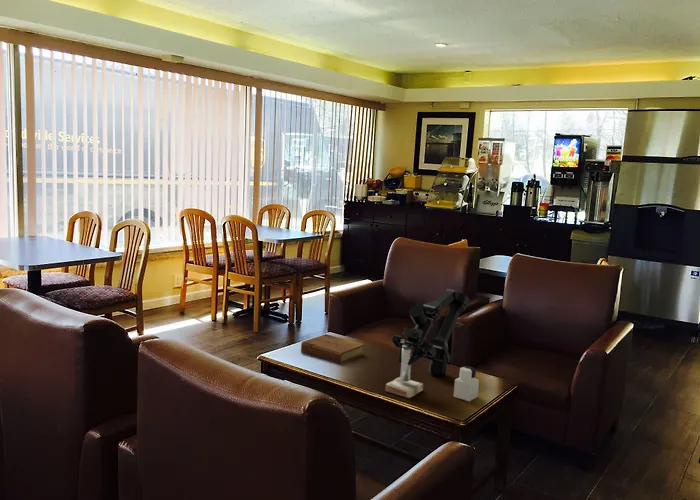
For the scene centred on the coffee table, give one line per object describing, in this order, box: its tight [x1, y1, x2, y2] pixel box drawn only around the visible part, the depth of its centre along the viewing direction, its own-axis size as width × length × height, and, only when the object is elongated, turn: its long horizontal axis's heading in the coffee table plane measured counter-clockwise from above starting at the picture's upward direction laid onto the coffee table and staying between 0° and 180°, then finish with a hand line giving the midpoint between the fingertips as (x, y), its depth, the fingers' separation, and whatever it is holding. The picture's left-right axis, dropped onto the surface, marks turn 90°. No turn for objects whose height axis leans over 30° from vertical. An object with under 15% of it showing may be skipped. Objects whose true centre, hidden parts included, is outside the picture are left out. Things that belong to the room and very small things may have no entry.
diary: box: [300, 333, 365, 365], centre depth 270 cm, size 23×19×6 cm
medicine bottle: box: [453, 365, 480, 402], centre depth 226 cm, size 7×7×12 cm
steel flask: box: [399, 344, 414, 382], centre depth 228 cm, size 4×4×14 cm
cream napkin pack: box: [384, 376, 424, 399], centre depth 229 cm, size 11×11×3 cm
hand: (404, 363), depth 227 cm, fingers closed on steel flask, 4 cm apart
